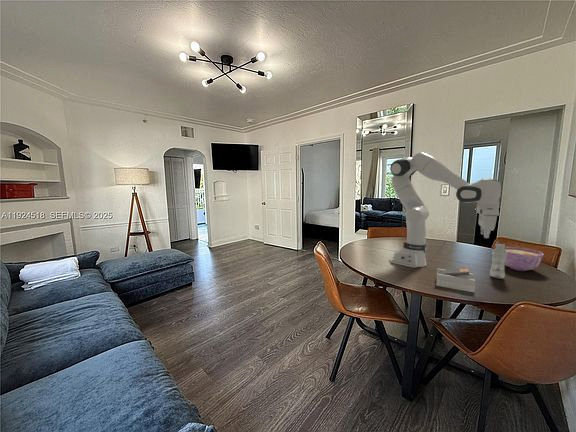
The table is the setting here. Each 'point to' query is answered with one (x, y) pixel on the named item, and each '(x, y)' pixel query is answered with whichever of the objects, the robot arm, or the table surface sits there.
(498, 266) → the plastic bottle
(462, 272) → the gray and orange tool
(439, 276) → the box
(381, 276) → the table surface
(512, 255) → the bowl of food
